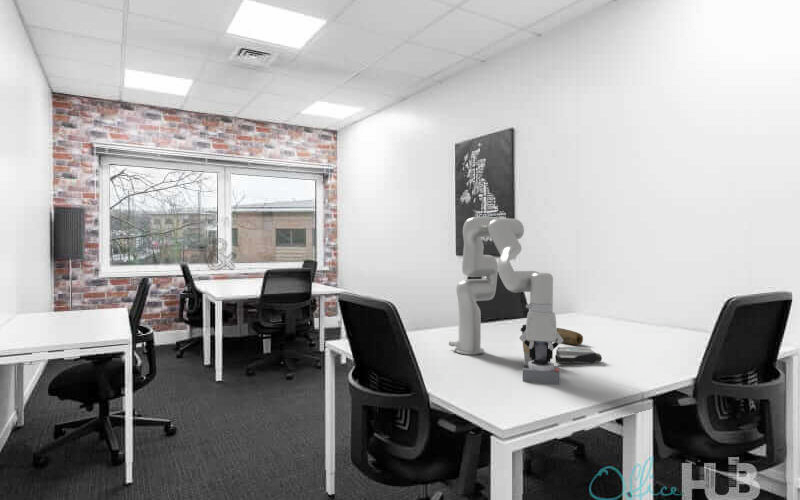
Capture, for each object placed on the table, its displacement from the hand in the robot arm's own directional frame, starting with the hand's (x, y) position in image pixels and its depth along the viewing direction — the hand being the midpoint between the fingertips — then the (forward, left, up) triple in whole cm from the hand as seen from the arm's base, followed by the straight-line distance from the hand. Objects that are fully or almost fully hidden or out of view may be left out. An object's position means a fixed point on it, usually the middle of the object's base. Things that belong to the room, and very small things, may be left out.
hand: (540, 359), depth 165 cm
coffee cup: (-3, +21, -7) cm, 22 cm away
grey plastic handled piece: (+13, +32, -7) cm, 36 cm away
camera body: (0, 0, -7) cm, 7 cm away
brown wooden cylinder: (+11, +67, -7) cm, 68 cm away
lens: (0, 0, -1) cm, 1 cm away
